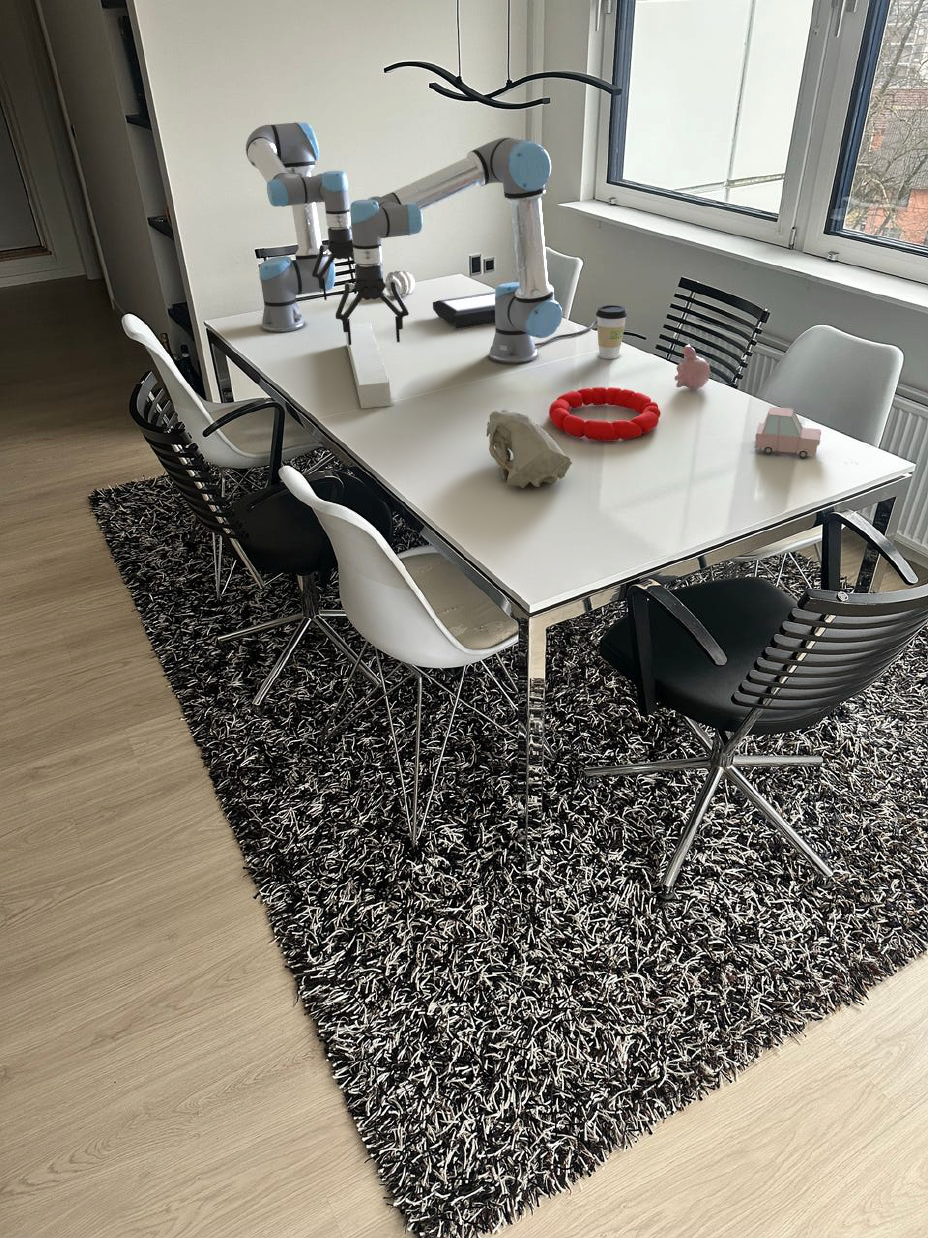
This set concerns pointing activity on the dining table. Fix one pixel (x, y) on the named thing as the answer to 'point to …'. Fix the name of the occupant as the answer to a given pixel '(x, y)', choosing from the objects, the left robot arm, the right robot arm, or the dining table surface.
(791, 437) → the toy car
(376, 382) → the wide beam
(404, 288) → the seashell
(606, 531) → the dining table surface
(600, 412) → the dining table surface
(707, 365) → the figurine
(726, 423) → the dining table surface
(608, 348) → the coffee cup
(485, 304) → the electronic device
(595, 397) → the decorative ring
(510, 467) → the animal skull
